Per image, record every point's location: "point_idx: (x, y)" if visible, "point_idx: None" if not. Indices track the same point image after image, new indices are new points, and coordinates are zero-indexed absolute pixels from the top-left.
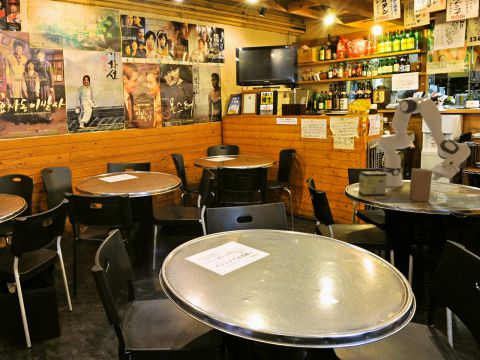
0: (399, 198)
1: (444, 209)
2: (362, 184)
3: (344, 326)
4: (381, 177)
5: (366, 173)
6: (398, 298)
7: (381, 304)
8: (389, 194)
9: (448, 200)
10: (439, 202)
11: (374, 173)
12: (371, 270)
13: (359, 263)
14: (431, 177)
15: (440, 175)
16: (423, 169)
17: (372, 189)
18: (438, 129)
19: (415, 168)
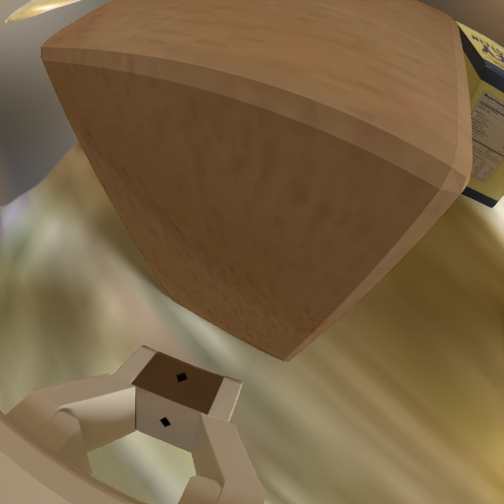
0: None
1: (16, 226)
2: None
3: (29, 2)
4: (467, 69)
5: (468, 27)
6: (12, 18)
7: (19, 12)
8: (459, 225)
9: (141, 494)
10: (119, 363)
11: (479, 42)
12: (41, 8)
13: (55, 3)
14: (81, 142)
15: (20, 427)
16: (316, 10)
17: None
18: None
19: (445, 22)
